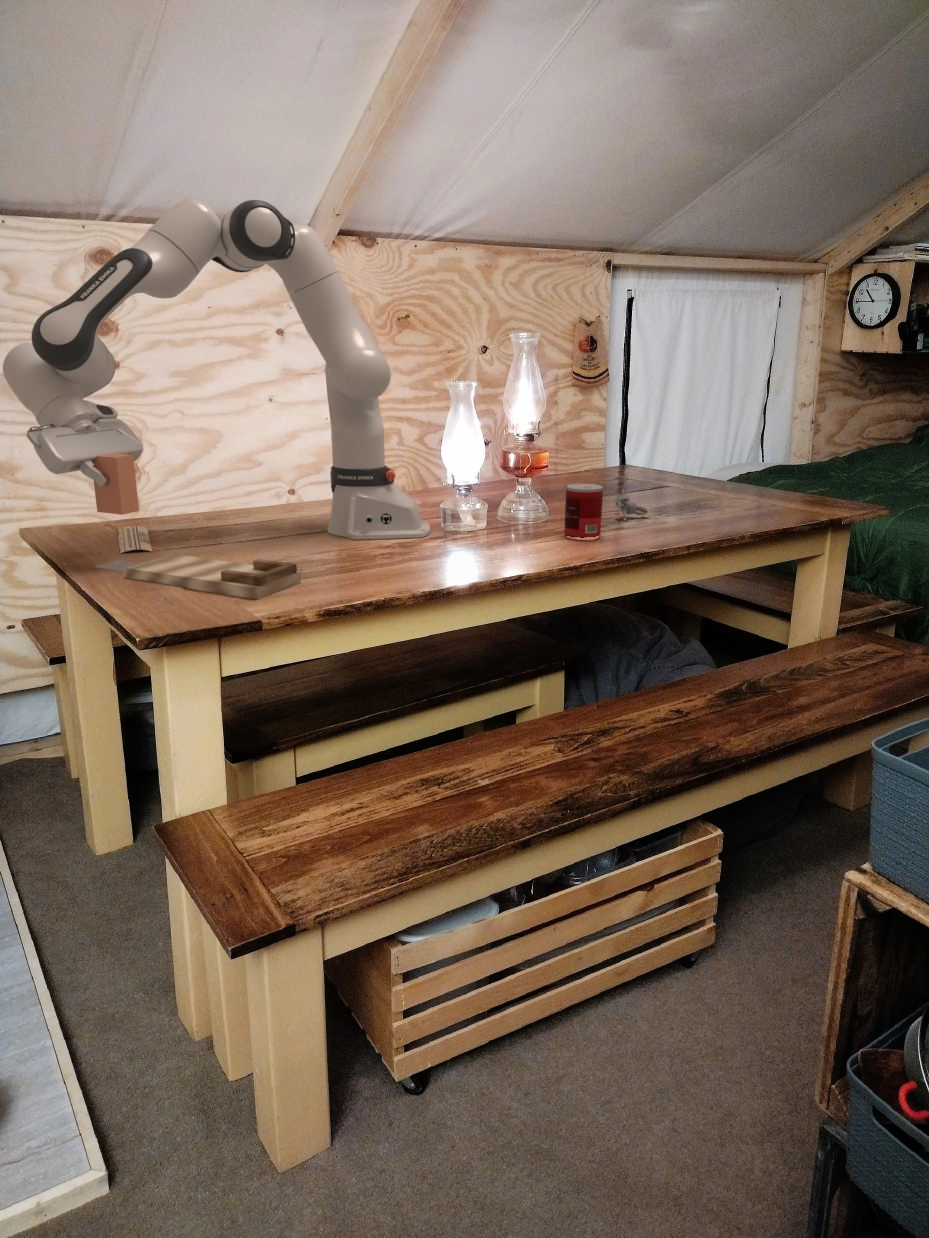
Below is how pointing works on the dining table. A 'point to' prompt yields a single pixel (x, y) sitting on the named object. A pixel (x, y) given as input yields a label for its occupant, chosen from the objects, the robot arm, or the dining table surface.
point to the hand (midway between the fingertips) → (117, 481)
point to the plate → (117, 565)
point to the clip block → (116, 484)
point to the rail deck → (219, 575)
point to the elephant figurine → (629, 506)
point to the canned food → (583, 510)
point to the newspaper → (134, 539)
